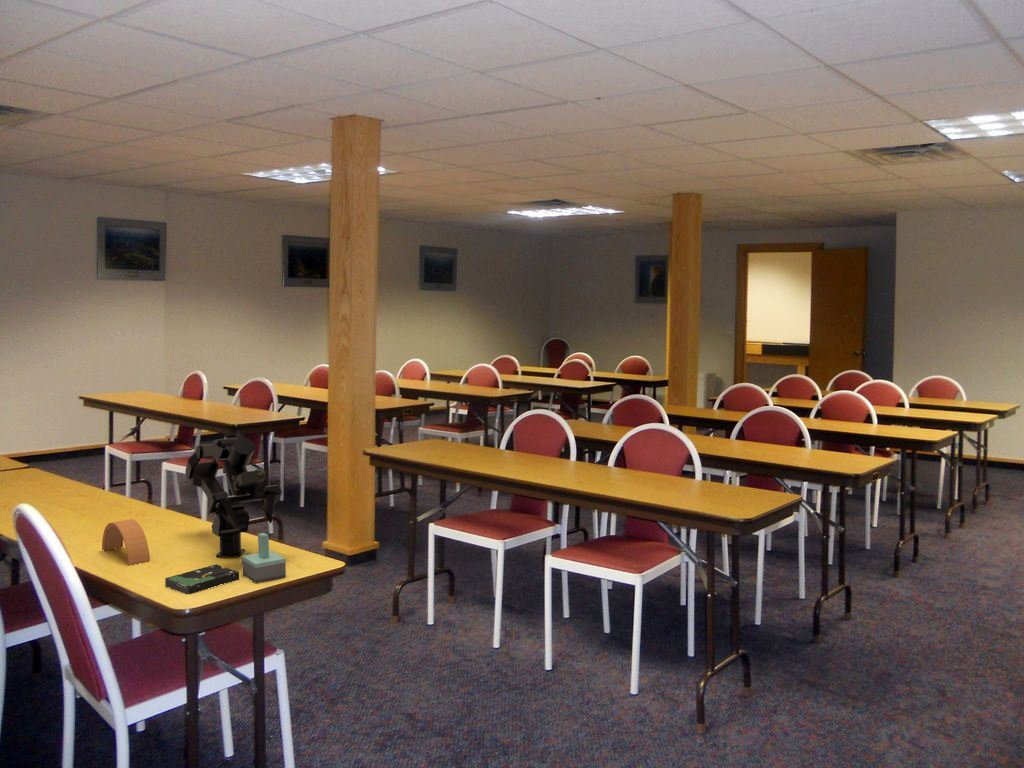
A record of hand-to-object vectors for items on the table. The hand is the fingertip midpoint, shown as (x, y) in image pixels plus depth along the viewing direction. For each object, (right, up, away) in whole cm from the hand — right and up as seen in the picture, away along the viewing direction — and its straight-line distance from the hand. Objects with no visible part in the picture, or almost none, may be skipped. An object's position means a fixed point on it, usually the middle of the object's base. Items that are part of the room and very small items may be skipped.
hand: (254, 524), depth 230 cm
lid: (+4, -9, -4) cm, 11 cm away
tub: (+4, -13, -4) cm, 14 cm away
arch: (-40, -11, +14) cm, 44 cm away
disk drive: (-10, -14, -9) cm, 20 cm away
